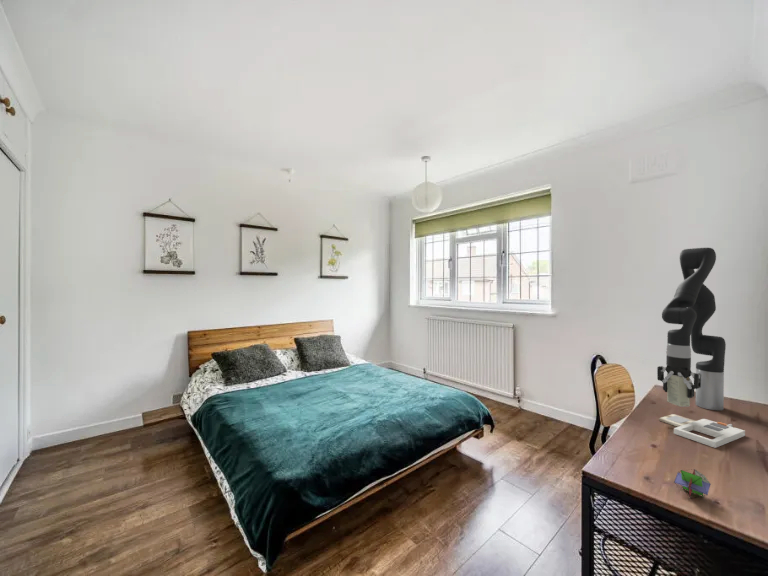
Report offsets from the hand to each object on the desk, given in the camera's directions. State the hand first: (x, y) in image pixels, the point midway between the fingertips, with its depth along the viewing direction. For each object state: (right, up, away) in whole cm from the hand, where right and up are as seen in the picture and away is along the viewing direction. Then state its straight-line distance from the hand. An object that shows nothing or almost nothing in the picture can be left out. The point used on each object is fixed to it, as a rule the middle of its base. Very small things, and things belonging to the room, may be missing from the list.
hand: (678, 394), depth 135 cm
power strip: (+5, -12, -10) cm, 16 cm away
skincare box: (0, -4, 0) cm, 4 cm away
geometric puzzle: (-38, -13, -46) cm, 61 cm away
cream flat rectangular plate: (0, -11, 0) cm, 11 cm away
